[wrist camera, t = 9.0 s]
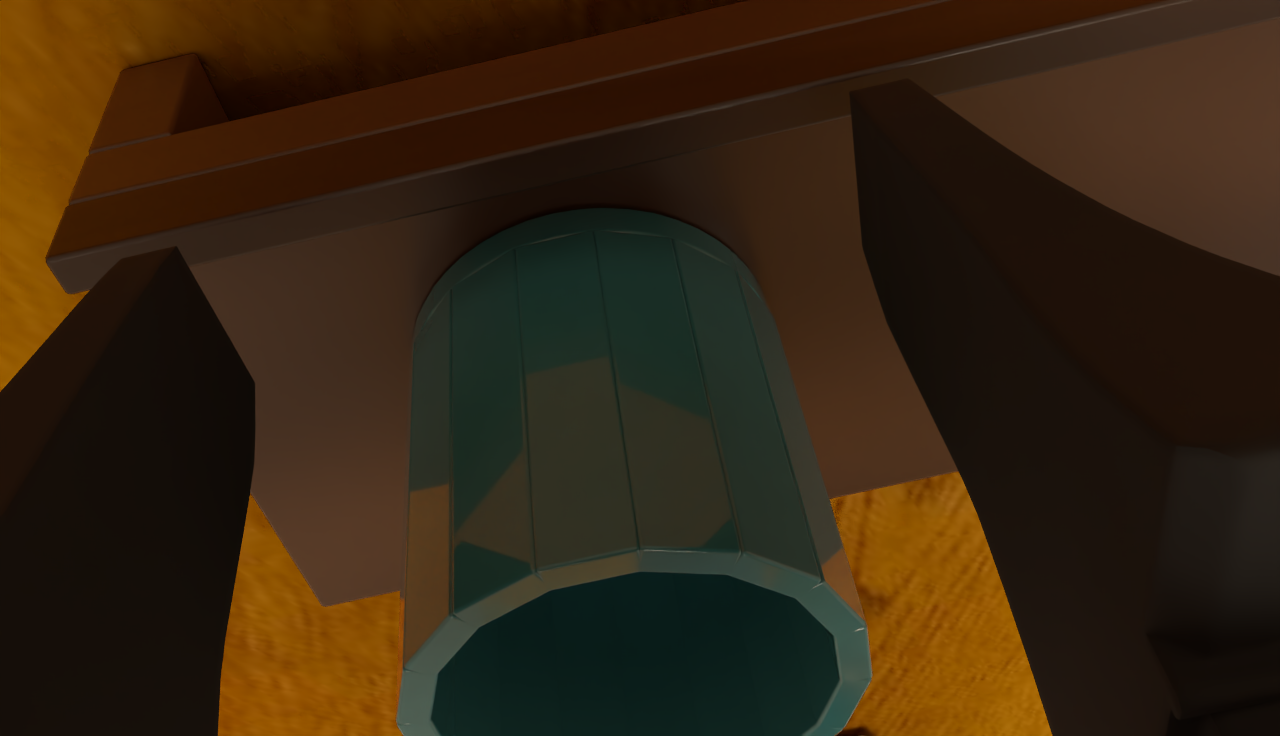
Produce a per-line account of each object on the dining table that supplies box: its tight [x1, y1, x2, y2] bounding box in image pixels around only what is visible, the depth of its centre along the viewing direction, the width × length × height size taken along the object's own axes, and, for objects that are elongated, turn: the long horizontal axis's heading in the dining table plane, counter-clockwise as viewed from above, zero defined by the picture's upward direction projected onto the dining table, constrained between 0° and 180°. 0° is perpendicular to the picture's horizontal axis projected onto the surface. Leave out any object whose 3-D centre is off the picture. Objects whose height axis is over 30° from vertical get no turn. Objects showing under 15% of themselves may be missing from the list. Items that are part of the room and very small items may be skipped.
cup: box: [396, 207, 873, 736], centre depth 16 cm, size 5×5×6 cm
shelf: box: [46, 0, 1280, 607], centre depth 19 cm, size 9×18×5 cm, turn 101°
